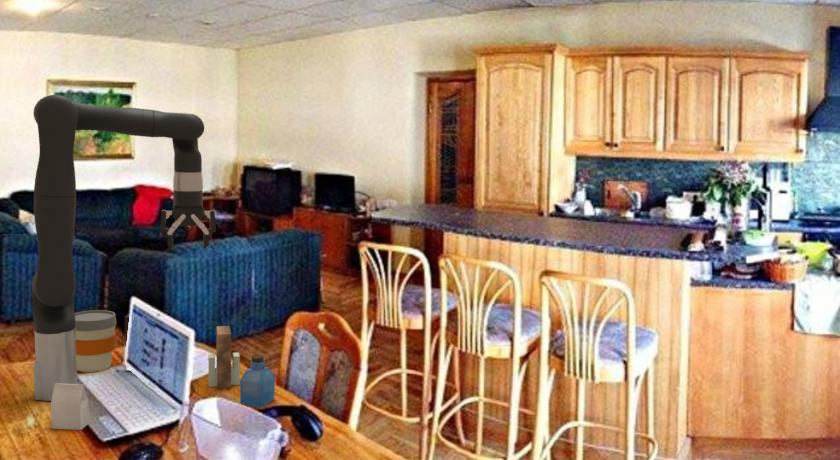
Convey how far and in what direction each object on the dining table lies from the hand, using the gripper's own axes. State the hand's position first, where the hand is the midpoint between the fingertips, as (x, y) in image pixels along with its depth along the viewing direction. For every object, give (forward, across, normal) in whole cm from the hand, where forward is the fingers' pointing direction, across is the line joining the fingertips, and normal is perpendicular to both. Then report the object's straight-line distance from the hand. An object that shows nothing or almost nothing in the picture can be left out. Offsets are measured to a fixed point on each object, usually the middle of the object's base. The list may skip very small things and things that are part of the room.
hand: (188, 248), depth 196 cm
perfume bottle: (+36, +17, -23) cm, 46 cm away
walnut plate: (+36, +9, -8) cm, 38 cm away
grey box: (+36, -26, -29) cm, 53 cm away
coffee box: (+36, -12, +8) cm, 39 cm away
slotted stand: (+36, +9, -8) cm, 38 cm away
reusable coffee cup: (+36, -26, +13) cm, 47 cm away
